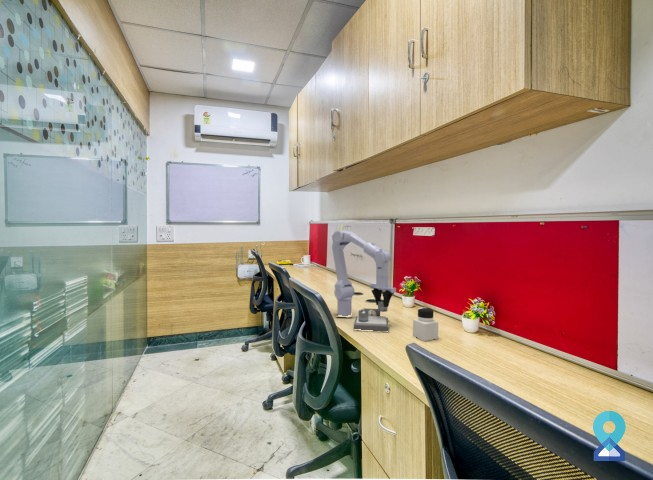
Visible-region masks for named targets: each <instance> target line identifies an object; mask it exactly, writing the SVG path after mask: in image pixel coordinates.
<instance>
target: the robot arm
mask: <svg viewBox="0 0 653 480" xmlns="http://www.w3.org/2000/svg"><path fill="white" fill-rule="evenodd" d="M331 240H332V246H331V249H332V254H333V255H332V256H333V261H334V266H335V267H334V268H335V273H336V279H337V281H336V282H335V284H334V293H333V294H334V296H335V298H336V301H337V314H338V315H342V316H348V315H351V313H352V310H353V309H352V308H353V307H352V303H353V302H352V299H353V296H354V295H355V288H354V286H353V283H352V281H350V280H349V276H348V271H347V266H346V260H345V259H346V258H345V254H344V249H345V247H346V246H347V245H349V244H350V243H353V244H354V245H356V246H357V247H359V248H361V249H363V252H364V253H365V254H366V255H368V256H369V257H370V258H372V259H373V261H374V263H375V267H376V269H375V270H376V272H375V274H376V275H375V276H376V277H375V283H371V284H369V289H372V290H371V293H372V295H373V298H374V300H375V306H378V301H379V300H381V299H382V298H383V299H384V307H388V308H389V306H390V301H391V299H392V297H393V295H394V294H395V293H396V291H397V288H396V287H393V286H389V283H390V282H389V279H390V276H389V274H390V261H391V260H392V254H391V253H390V251H388V250H387V249H386V250H383V248H382V247H378V246H377V245H376V244H375V242H372V241H371V242H367V241H365V240H364V239H362V238H361V237H360V236H358V235H357V234H356V233H355V232H353V231H351V230H349V229H347V230H339V229H337V230H335V231H334V232H333V234H332V235H331ZM337 314H336V315H337Z"/></svg>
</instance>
